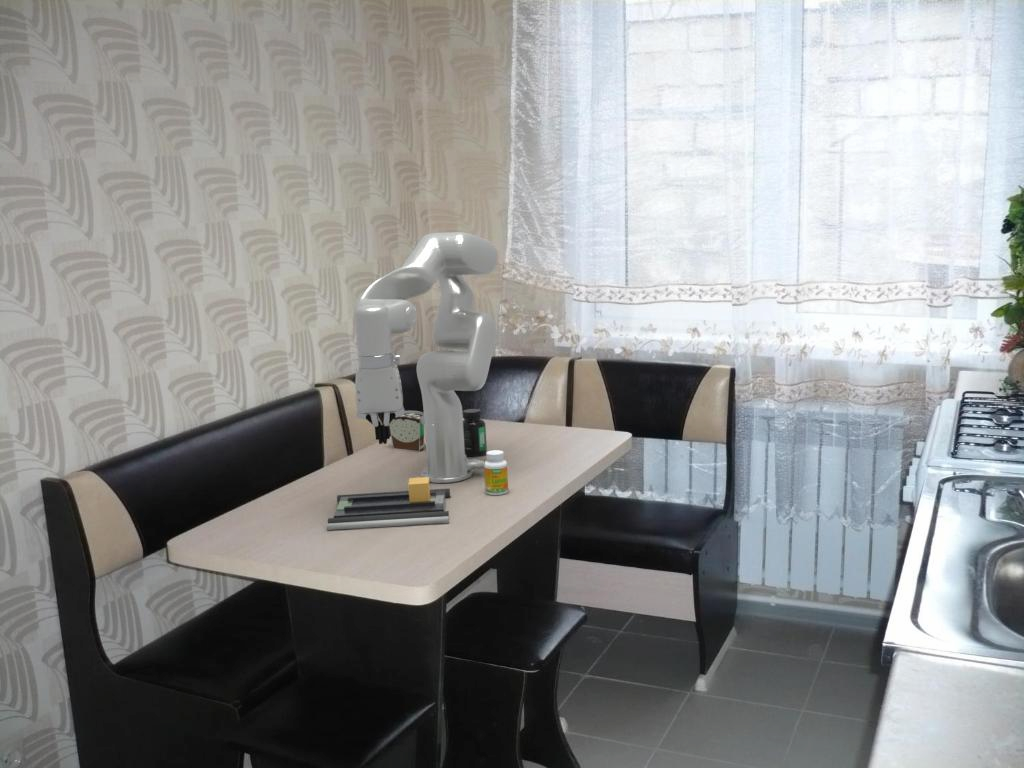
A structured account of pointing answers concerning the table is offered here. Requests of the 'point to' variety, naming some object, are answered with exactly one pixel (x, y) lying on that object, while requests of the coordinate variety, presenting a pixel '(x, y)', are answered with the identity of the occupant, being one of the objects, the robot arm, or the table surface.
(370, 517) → the pair of dark bars
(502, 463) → the supplement bottle
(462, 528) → the table surface
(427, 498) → the toggle
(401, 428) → the food container
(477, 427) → the supplement bottle
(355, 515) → the railed metal tray
